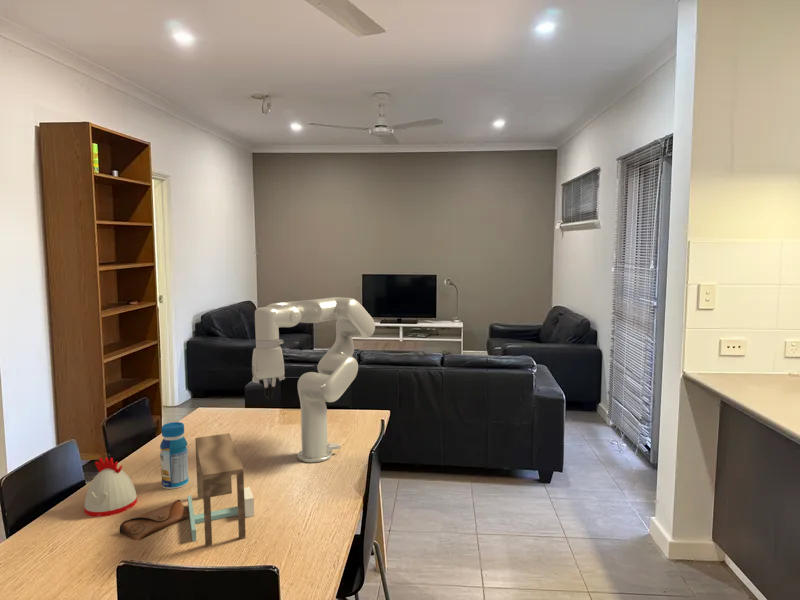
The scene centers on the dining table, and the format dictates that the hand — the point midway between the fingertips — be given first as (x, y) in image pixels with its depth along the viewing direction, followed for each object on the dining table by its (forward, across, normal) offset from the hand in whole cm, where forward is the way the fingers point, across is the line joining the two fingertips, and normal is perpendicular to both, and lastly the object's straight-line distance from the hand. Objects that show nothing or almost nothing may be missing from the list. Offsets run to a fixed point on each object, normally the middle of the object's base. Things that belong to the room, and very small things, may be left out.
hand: (269, 397), depth 178 cm
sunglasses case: (+27, +36, +20) cm, 49 cm away
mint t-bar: (+26, +19, +23) cm, 40 cm away
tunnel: (+27, +20, +23) cm, 40 cm away
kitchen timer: (+27, +48, +1) cm, 55 cm away
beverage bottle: (+27, +30, -6) cm, 41 cm away
